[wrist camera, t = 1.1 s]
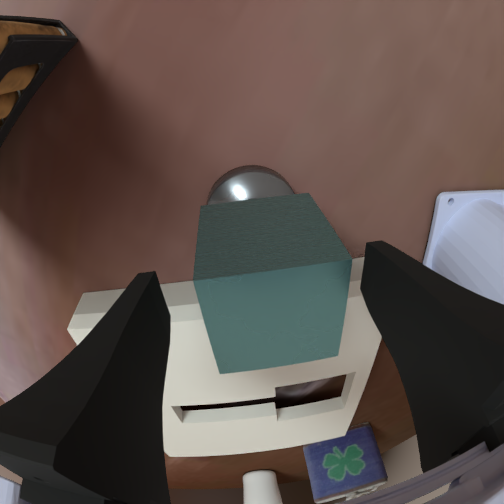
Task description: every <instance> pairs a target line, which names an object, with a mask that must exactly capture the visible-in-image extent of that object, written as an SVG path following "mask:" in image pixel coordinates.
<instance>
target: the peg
mask: <svg viewBox="0 0 504 504" xmlns="http://www.w3.org/2000/svg"><path fill="white" fill-rule="evenodd" d="M352 260H353V259H352V257H351V256H350V254H349V253H348V251H347V249H346V248H345V246H344V245H343V243H342V242H341V240H340V239H339V237H338V236H337V234H336V232H335V231H334V229H333V228H332V226H331V225H330V223H329V222H328V220H327V219H326V217H325V216H324V214H323V213H322V211H321V210H320V209H319V207H318V206H317V204H316V203H315V201H314V200H313V198H312V197H311V195H310V194H309V193H303V194H294V192H293V191H292V189H291V187H290V186H289V184H288V182H287V181H286V180H285V179H284V178H283V177H282V176H281V175H280V174H279V173H277V172H276V171H274V170H272V169H269V168H267V167H263V166H257V165H248V166H241V167H238V168H235V169H233V170H230V171H229V172H227V173H225V174H224V175H223V176H221V177H220V178H219V179H218V180H217V181H216V182H215V184H214V185H213V187H212V189H211V191H210V193H209V196H208V199H207V205H205V206H201V209H200V218H199V226H198V235H197V245H196V254H195V264H194V275H193V283H194V287H195V290H196V294H197V298H198V302H199V305H200V309H201V313H202V316H203V320H204V323H205V327H206V330H207V334H208V337H209V340H210V344H211V347H212V351H213V354H214V357H215V360H216V364H217V367H218V370H219V373H220V374H227V373H236V372H245V371H253V370H260V369H267V368H274V367H281V366H287V365H293V364H299V363H305V362H310V361H315V360H321V359H326V358H331V357H336V356H338V354H339V348H340V343H341V337H342V331H343V325H344V319H345V313H346V306H347V299H348V292H349V284H350V276H351V268H352Z"/></svg>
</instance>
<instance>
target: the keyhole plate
mask: <svg viewBox="0 0 504 504" xmlns="http://www.w3.org/2000/svg"><path fill="white" fill-rule="evenodd" d="M363 264H364V257H361V258H354V259H353V260H352V268H351V276H350V284H349V292H348V299H347V306H346V313H345V319H344V325H343V331H342V337H341V343H340V348H339V354H338V356H336V357H331V358H326V359H321V360H315V361H310V362H305V363H299V364H293V365H287V366H281V367H274V368H267V369H260V370H253V371H245V372H236V373H227V374H220V373H219V370H218V367H217V364H216V360H215V357H214V354H213V351H212V347H211V344H210V340H209V337H208V334H207V330H206V327H205V323H204V320H203V316H202V313H201V309H200V305H199V302H198V298H197V294H196V290H195V287H194V283H193V281H186V282H177V283H169V284H160V287H161V290H162V292H163V295H164V298H165V301H166V304H167V307H168V309H169V312H170V315H171V333H170V347H169V355H168V362H167V370H166V377H165V385H164V393H163V407H162V412H163V444H164V451H165V452H166V453H167V454H168V455H169V456H170V457H187V456H215V455H230V454H242V453H252V452H260V451H268V450H275V449H282V448H288V447H294V446H300V445H305V444H310V443H315V442H320V441H324V440H329V439H333V438H337V437H342V436H345V434H346V432H347V430H348V427H349V425H350V423H351V420H352V418H353V416H354V413H355V411H356V408H357V406H358V403H359V401H360V398H361V396H362V393H363V391H364V388H365V385H366V383H367V380H368V377H369V374H370V371H371V369H372V366H373V363H374V360H375V357H376V354H377V351H378V348H379V345H380V341H381V338H382V336H381V334H380V332H379V330H378V329H377V327H376V325H375V323H374V321H373V319H372V317H371V315H370V313H369V311H368V309H367V306H366V304H365V301H364V298H363V296H362V293H361V290H360V284H361V278H362V271H363ZM125 289H126V288H125ZM125 289H116V290H107V291H98V292H88V293H83V295H82V297H81V299H80V301H79V303H78V306H77V308H76V310H75V312H74V315H73V317H72V319H71V321H70V324H69V326H68V329H67V330H68V331H69V333H70V335H71V336H72V338H73V339H74V341H75V342H76V344H77V345H78V344H79V343H80V342H81V341H82V340H83V339H84V338H85V337H86V336H87V335H88V334H89V332H90V331H91V330H92V329H93V328H94V327H95V325H96V324H97V323H98V322H99V321H100V320H101V318H102V317H103V316H104V315H105V314H106V313H107V311H108V310H109V309H110V308H111V306H112V305H113V304H114V303H115V301H116V300H117V299H118V298H119V297H120V295H121V294H122V293H123V292H124V290H125ZM344 374H347V376H346V380H345V383H344V387H343V391H342V394H341V397H337V398H333V399H328V400H323V401H319V402H314V403H308V404H303V405H298V406H292V407H286V408H279V409H276V408H275V402H272V403H265V404H257V405H249V406H240V407H231V408H220V409H207V410H190V411H182V409H181V407H180V406H189V405H206V404H218V403H229V402H239V401H248V400H256V399H263V398H270V397H276V396H275V387H281V386H287V385H293V384H299V383H305V382H310V381H315V380H320V379H325V378H330V377H335V376H339V375H344Z"/></svg>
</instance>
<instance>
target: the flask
mask: <svg viewBox="0 0 504 504" xmlns="http://www.w3.org/2000/svg"><path fill="white" fill-rule="evenodd" d="M303 451H304V455H305V459H306V463H307V468H308V472H309V477H310V482H311V487H312V492H313V497H314V501H315V503H324V502H327V501H331V500H334V499H338V498H341V497H344V496H347V498H346V500H351V499H354V498H358V497H360V496H361V495H363V494H366V493H370V492H364V491H366V490H369V489H372V488H373V490H371V491H375V490H376V489H377V487H378V486H380V485H382V484H384V483H386V482H387V478H388V476H387V474H386V471H385V467H384V464H383V461H382V458H381V455H380V451H379V448H378V446H377V442H376V439H375V436H374V433H373V430H372V428H371V426H370V424H369V423H368V422H367V423H361V424H358V425H355V426H352V427H349V428H348V430H347V432H346V434H345V436H342V437H337V438H333V439H329V440H324V441H320V442H315V443H310V444H305V445H303Z"/></svg>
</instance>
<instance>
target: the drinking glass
mask: <svg viewBox="0 0 504 504" xmlns="http://www.w3.org/2000/svg"><path fill="white" fill-rule="evenodd" d="M243 486H244V504H282V500H281V496H280V492H279V488H278V484H277V479H276V474H275V472H273V471H271V470H256V471H251V472H248V473H246V474H244V476H243Z"/></svg>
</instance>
